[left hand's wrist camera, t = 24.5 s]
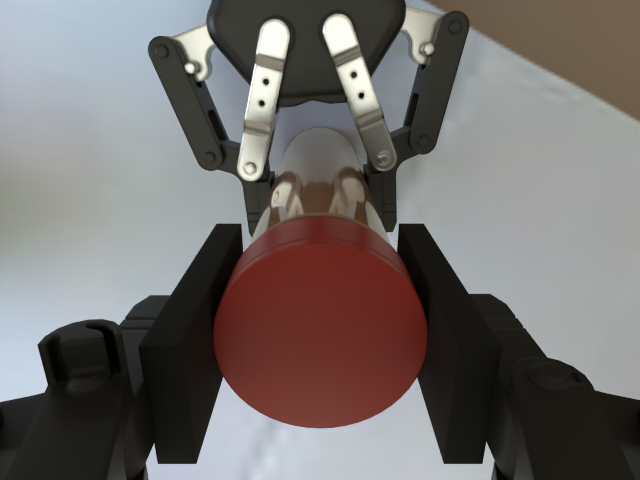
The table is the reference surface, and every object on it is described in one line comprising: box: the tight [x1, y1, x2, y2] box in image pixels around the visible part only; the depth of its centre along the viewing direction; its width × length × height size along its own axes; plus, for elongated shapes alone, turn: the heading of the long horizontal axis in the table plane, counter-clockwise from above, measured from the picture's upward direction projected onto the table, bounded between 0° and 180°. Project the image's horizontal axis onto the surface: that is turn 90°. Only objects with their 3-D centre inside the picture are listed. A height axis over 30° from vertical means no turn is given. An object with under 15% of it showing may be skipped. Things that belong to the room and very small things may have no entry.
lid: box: [212, 217, 428, 428], centre depth 11 cm, size 5×5×2 cm
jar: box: [249, 127, 391, 246], centre depth 20 cm, size 5×5×19 cm
